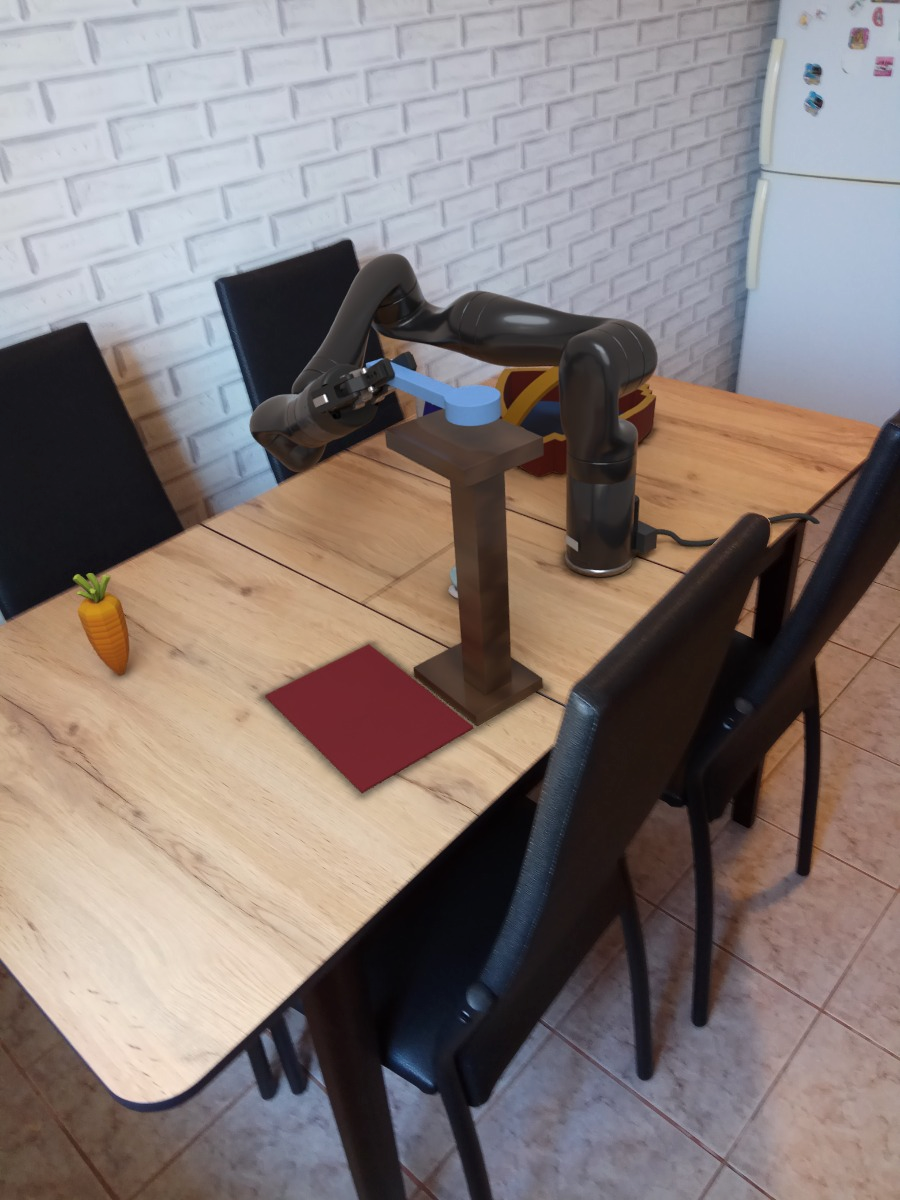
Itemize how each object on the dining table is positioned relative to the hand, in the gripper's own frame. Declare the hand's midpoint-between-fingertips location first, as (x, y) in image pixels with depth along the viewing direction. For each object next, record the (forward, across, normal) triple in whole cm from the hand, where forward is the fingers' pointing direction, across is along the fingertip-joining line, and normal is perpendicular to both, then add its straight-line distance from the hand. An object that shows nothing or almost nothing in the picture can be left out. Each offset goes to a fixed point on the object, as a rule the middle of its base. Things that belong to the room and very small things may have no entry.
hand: (400, 364), depth 97 cm
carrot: (-37, -32, +21) cm, 53 cm away
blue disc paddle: (+3, 0, +4) cm, 5 cm away
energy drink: (-57, +35, +10) cm, 68 cm away
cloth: (-14, -13, +34) cm, 39 cm away
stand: (-10, 0, +37) cm, 38 cm away
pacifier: (-23, +12, +29) cm, 39 cm away
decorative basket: (-47, +56, +15) cm, 75 cm away
